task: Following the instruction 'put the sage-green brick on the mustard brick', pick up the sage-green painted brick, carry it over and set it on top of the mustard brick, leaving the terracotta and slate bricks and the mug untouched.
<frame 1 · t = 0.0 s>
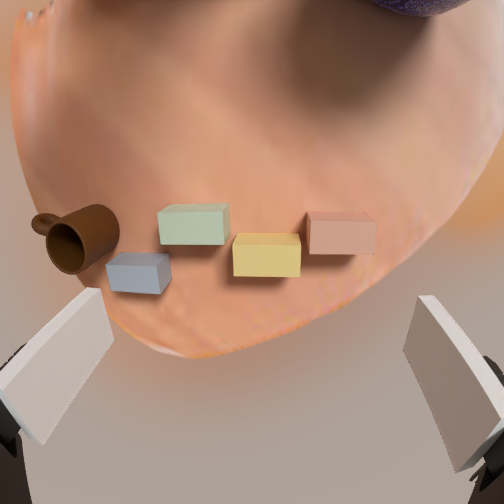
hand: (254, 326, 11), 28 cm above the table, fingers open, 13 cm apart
slate brick: (146, 265, 42), on the table
terracotta brick: (336, 226, 38), on the table
mustard brick: (268, 247, 40), on the table
mug: (90, 221, 41), on the table
sage brick: (200, 218, 39), on the table
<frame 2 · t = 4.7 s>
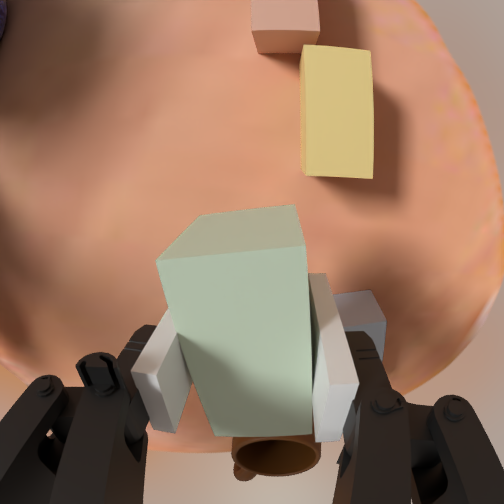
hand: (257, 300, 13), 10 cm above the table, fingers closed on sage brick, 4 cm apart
slate brick: (348, 330, 25), on the table
terracotta brick: (283, 10, 17), on the table
mustard brick: (327, 117, 20), on the table
mug: (269, 394, 29), on the table
sage brick: (258, 295, 14), point 10 cm above the table, touching gripper
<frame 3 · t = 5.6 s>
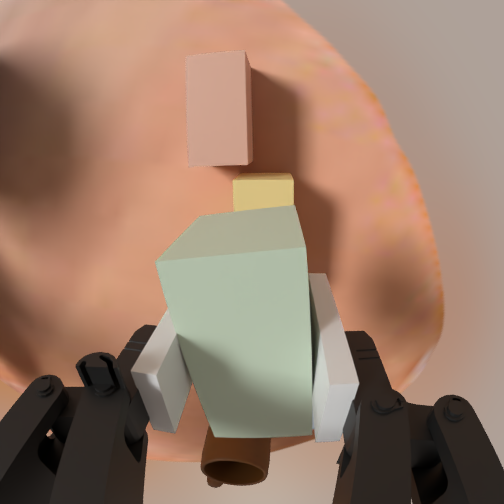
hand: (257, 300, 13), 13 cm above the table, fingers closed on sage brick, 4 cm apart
terracotta brick: (227, 114, 22), on the table
mustard brick: (266, 219, 25), on the table
mug: (235, 420, 35), on the table
sage brick: (258, 295, 14), point 12 cm above the table, touching gripper
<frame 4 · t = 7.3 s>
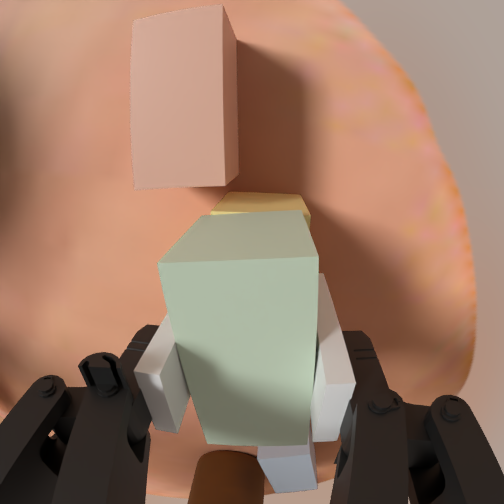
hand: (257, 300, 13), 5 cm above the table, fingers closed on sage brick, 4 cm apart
slate brick: (290, 433, 24), on the table
terracotta brick: (202, 106, 15), on the table
mustard brick: (262, 259, 18), on the table, touching gripper, sage brick
mug: (224, 468, 28), on the table
sage brick: (257, 300, 13), point 5 cm above the table, touching gripper, mustard brick
when the fingers open (5 cm above the table, at t = 8.0 s): sage brick stays where it is, resting on mustard brick.
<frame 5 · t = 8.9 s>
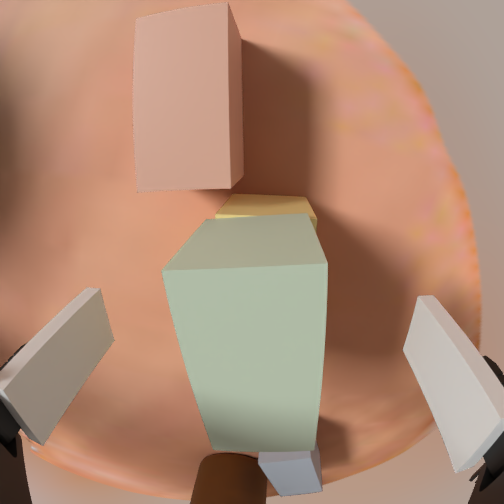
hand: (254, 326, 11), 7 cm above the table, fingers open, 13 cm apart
slate brick: (293, 436, 24), on the table
terracotta brick: (206, 106, 15), on the table
mustard brick: (266, 262, 18), on the table, touching sage brick
mug: (226, 471, 27), on the table
sage brick: (263, 305, 13), point 5 cm above the table, touching mustard brick
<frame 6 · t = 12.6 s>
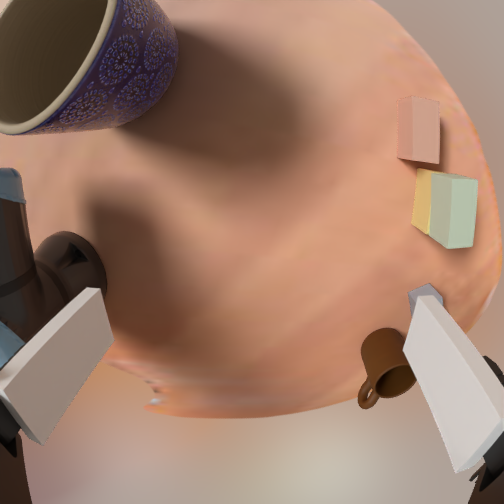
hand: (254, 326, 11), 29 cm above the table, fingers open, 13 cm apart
slate brick: (421, 307, 42), on the table
planter: (131, 70, 33), on the table
terracotta brick: (410, 130, 33), on the table
mustard brick: (426, 197, 36), on the table, touching sage brick
mug: (372, 352, 46), on the table
sage brick: (443, 204, 31), point 5 cm above the table, touching mustard brick
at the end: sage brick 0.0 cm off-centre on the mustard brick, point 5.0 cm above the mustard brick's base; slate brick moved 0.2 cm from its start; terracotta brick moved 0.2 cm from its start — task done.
